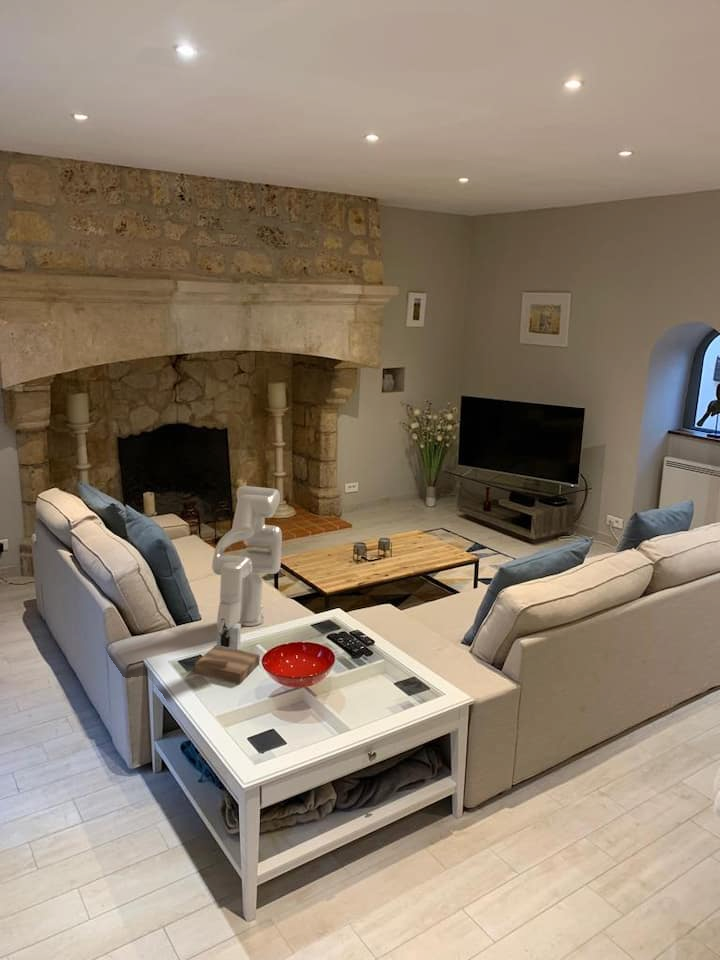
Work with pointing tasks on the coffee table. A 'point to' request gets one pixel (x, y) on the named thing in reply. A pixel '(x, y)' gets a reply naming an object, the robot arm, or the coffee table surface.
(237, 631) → the medicine box
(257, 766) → the coffee table surface
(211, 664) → the wooden block
